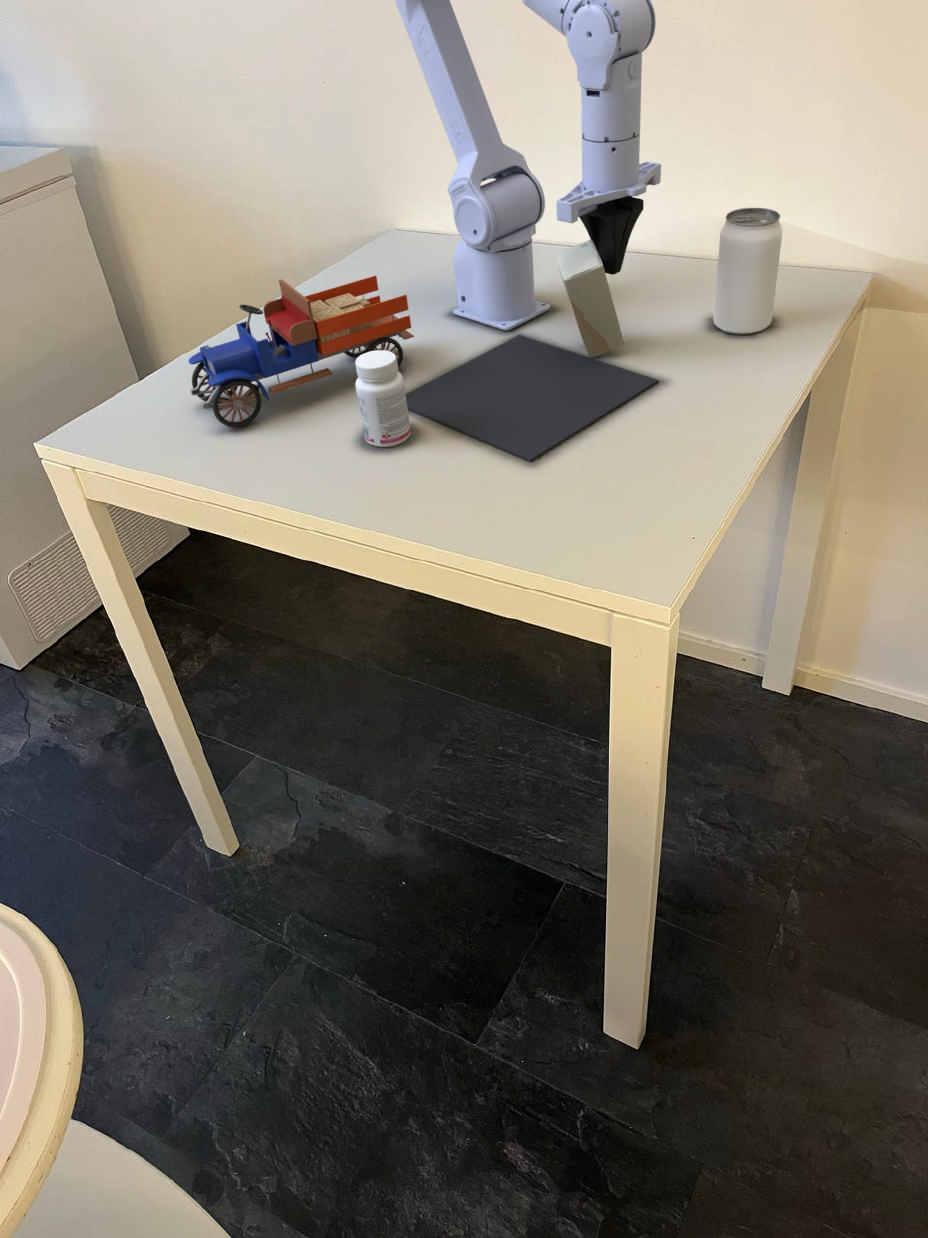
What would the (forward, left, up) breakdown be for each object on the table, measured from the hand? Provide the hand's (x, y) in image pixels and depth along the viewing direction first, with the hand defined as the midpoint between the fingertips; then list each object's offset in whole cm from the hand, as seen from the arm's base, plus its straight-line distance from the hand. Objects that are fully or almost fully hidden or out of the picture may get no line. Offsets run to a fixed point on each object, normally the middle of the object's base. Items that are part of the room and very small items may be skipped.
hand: (609, 271), depth 104 cm
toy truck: (-21, -27, -9) cm, 35 cm away
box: (0, -1, -8) cm, 8 cm away
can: (+9, +13, -9) cm, 18 cm away
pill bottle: (-5, -29, -9) cm, 31 cm away
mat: (0, -14, -8) cm, 16 cm away
